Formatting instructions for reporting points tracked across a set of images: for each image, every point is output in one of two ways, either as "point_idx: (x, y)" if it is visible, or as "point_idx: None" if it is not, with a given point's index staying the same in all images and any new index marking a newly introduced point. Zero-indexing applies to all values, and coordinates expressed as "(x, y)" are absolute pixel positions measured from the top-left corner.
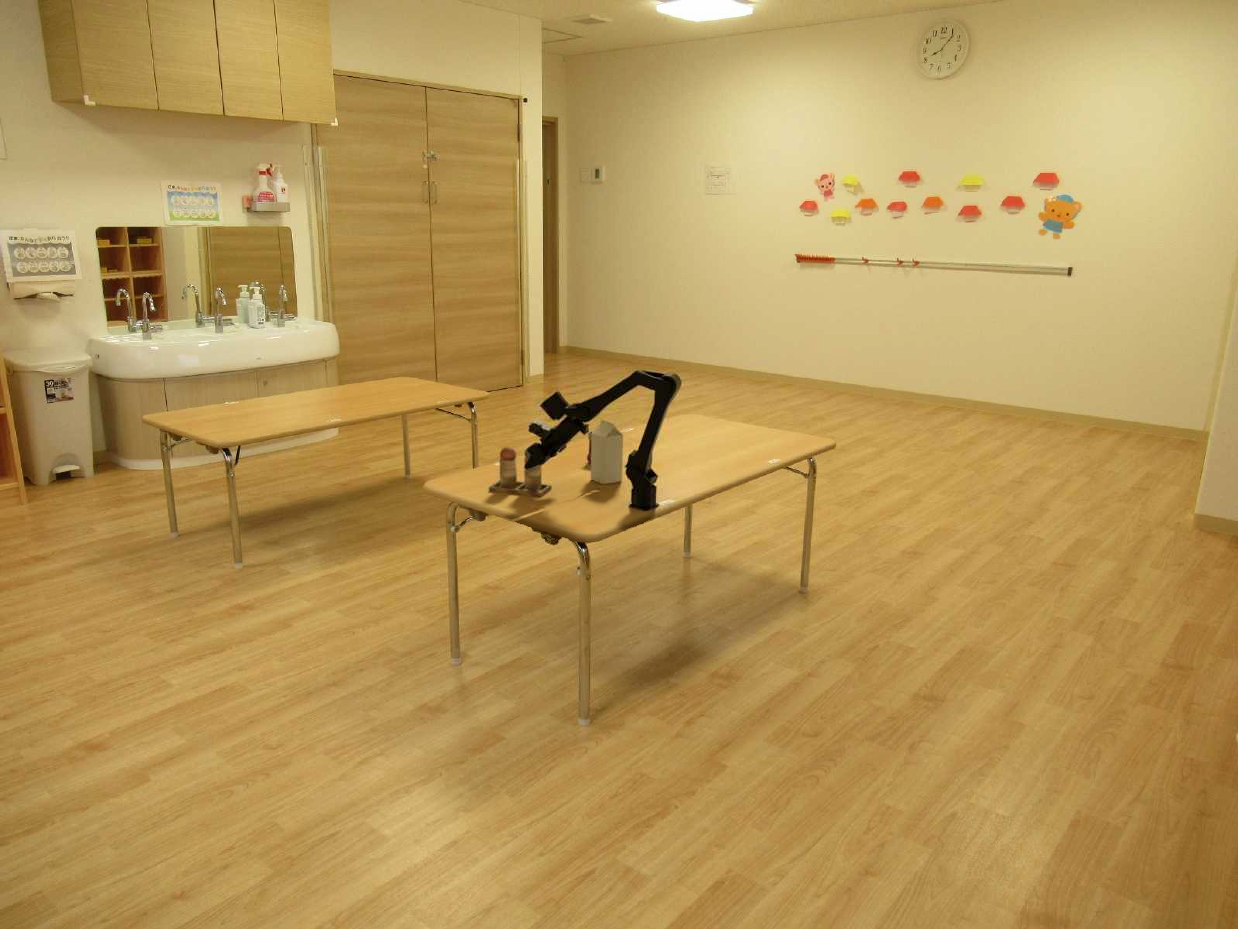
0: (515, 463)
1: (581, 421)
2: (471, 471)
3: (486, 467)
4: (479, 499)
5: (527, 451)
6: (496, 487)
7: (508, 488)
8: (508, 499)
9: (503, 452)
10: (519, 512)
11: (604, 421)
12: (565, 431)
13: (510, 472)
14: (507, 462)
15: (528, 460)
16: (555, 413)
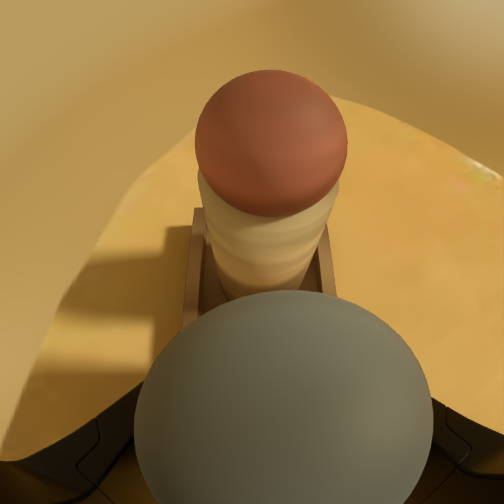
0: (260, 245)
1: None
2: (393, 119)
3: (441, 141)
4: (123, 223)
5: (154, 370)
6: (197, 236)
7: (196, 292)
8: (141, 325)
9: (207, 103)
10: (22, 404)
11: None
12: None
13: (218, 255)
14: (201, 194)
15: (107, 414)
16: None
